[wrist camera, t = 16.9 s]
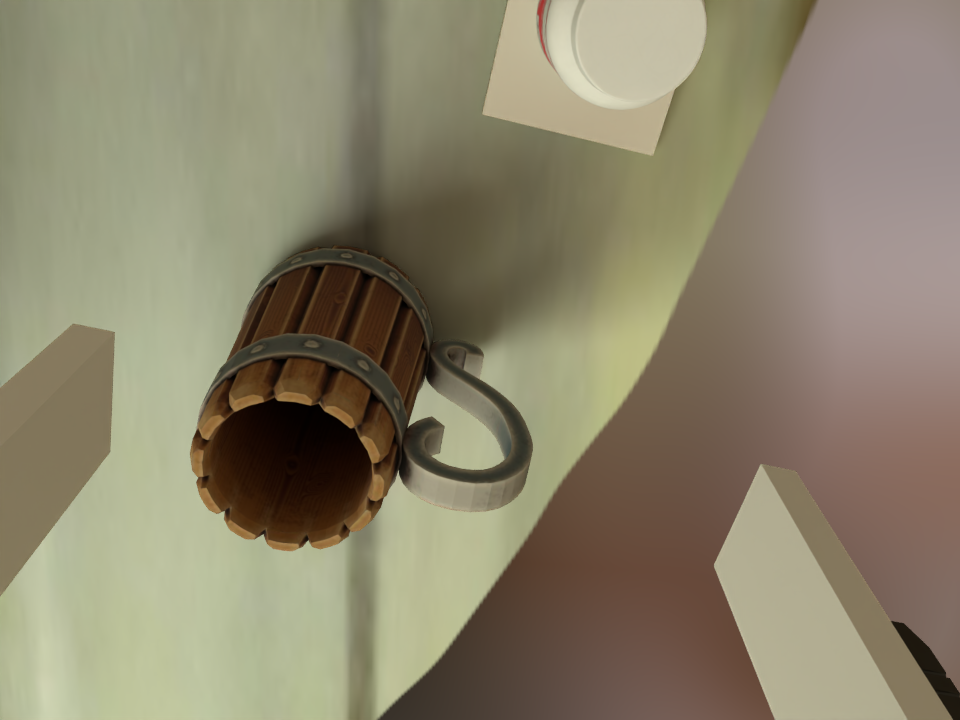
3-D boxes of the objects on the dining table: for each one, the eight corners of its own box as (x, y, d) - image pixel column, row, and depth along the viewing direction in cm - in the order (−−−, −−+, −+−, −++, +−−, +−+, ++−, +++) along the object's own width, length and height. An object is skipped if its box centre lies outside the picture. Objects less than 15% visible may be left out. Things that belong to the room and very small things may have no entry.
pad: (482, 111, 41) (482, 114, 40) (526, -84, 37) (527, -86, 36) (649, 151, 42) (653, 156, 41) (709, -35, 38) (715, -35, 37)
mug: (247, 393, 48) (158, 558, 35) (256, 225, 44) (157, 340, 30) (502, 431, 49) (511, 604, 36) (536, 271, 45) (562, 401, 31)
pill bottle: (689, -12, 38) (765, -5, 28) (619, 107, 40) (666, 154, 30) (576, -83, 36) (613, -102, 26) (510, 45, 39) (522, 72, 29)
